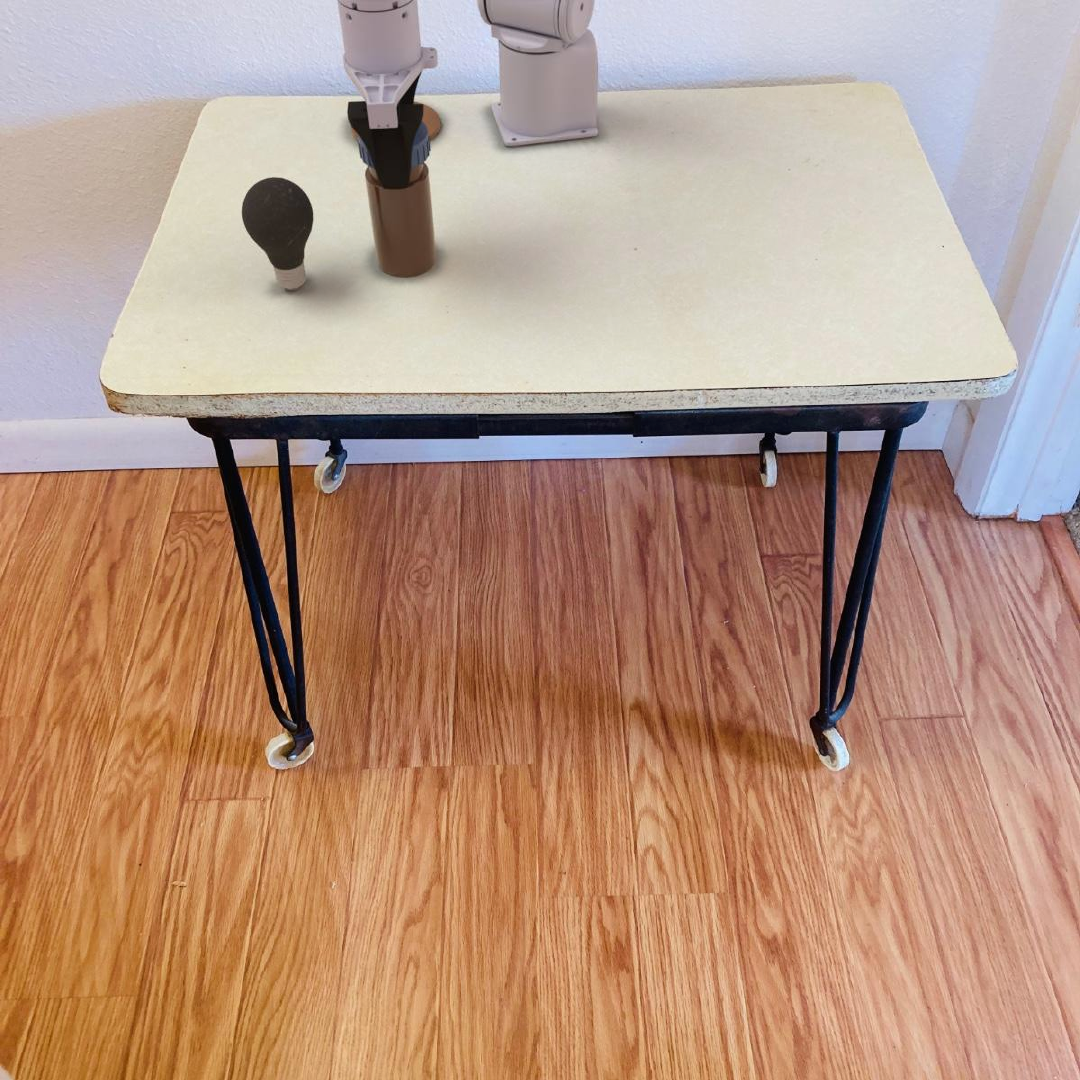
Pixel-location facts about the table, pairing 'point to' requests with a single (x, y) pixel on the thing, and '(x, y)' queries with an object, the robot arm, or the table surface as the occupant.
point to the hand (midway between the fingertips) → (396, 166)
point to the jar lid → (418, 152)
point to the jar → (402, 224)
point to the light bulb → (280, 226)
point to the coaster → (428, 118)
